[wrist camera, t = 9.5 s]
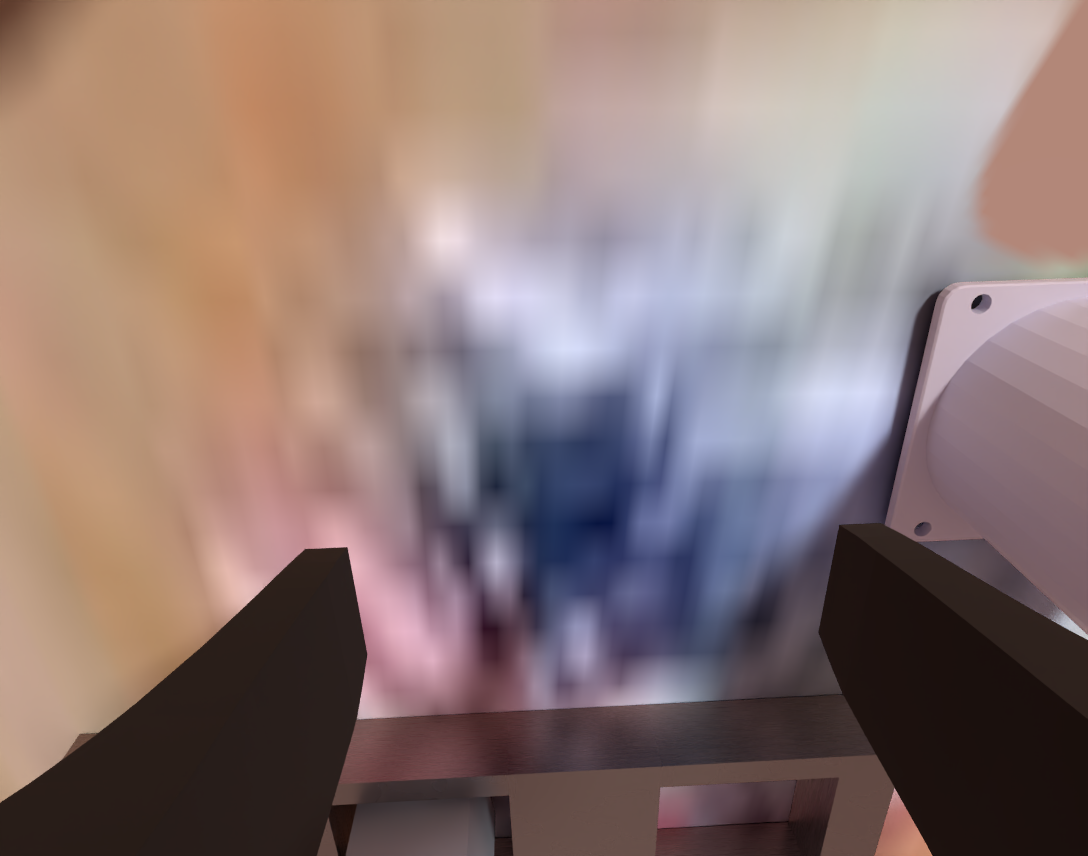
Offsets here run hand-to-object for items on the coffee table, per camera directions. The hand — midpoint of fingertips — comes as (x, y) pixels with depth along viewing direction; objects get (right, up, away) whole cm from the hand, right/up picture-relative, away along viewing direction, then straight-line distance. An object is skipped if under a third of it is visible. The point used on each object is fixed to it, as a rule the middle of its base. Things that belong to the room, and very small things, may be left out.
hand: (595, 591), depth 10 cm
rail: (-3, -11, +16) cm, 20 cm away
